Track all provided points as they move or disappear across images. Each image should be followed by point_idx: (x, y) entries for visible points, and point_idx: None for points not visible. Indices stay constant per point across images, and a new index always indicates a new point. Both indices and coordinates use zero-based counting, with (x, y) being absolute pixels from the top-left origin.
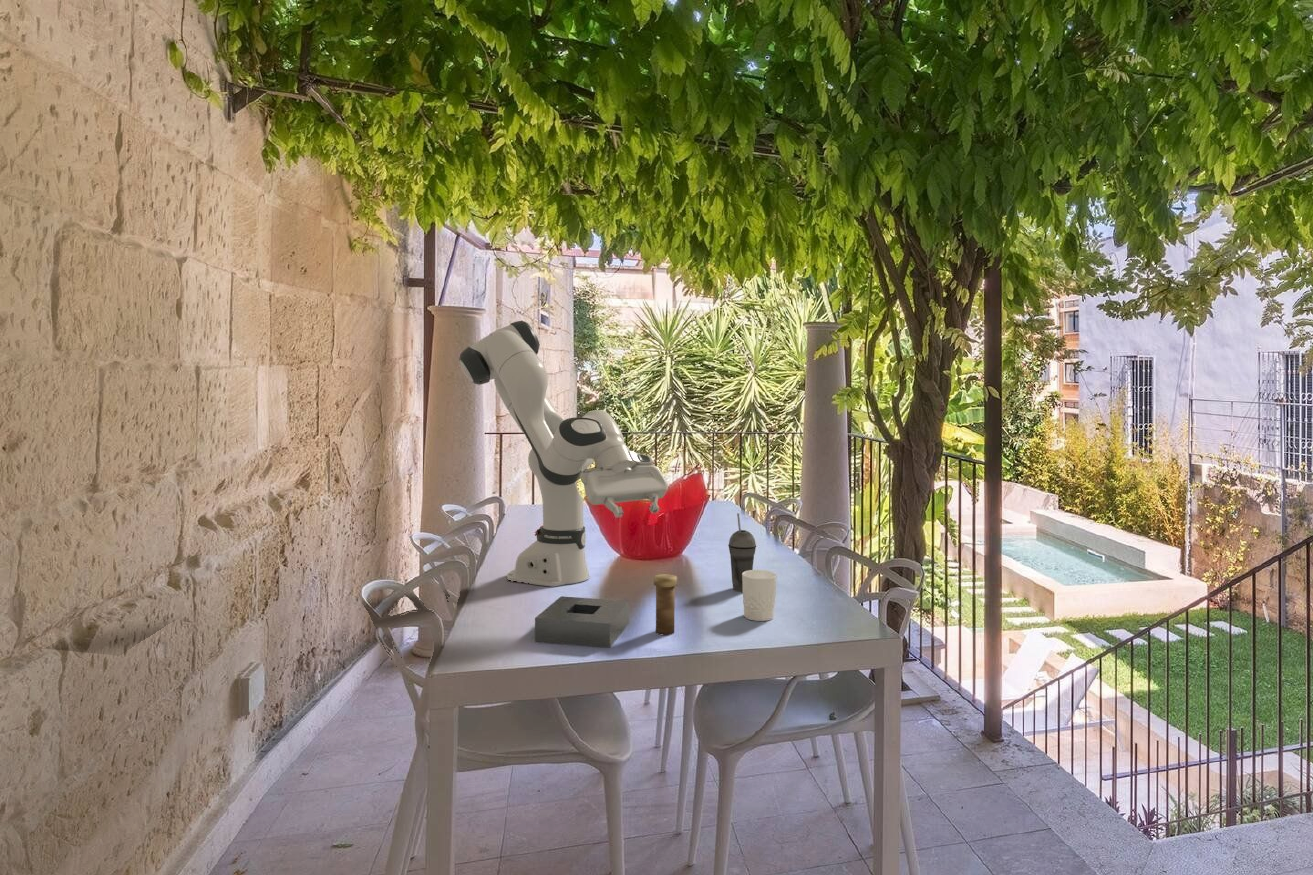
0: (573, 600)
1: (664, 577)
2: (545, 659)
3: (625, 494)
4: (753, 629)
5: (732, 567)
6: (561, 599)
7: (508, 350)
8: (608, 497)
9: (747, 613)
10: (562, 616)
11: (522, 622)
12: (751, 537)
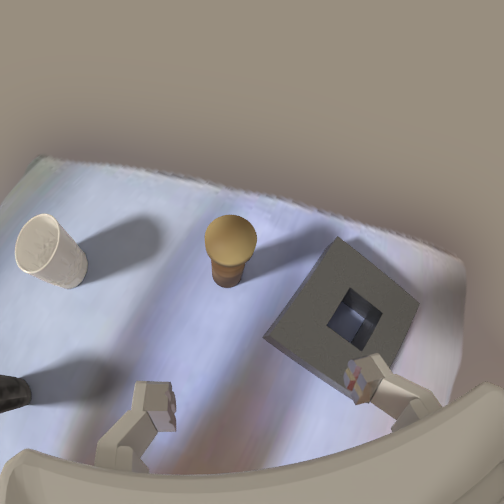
0: None
1: (234, 236)
2: (395, 250)
3: (351, 448)
4: (110, 226)
5: (11, 399)
6: None
7: None
8: (437, 409)
9: (84, 263)
10: (389, 296)
11: None
12: None
